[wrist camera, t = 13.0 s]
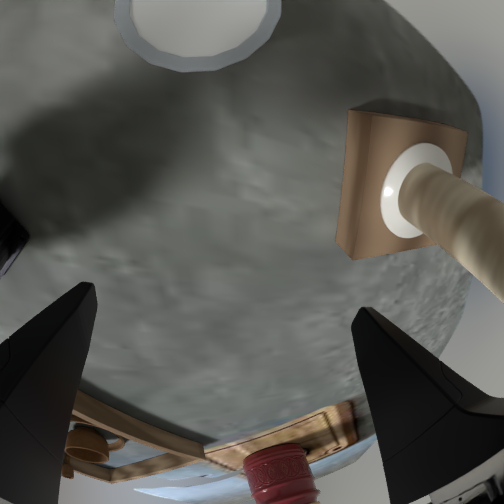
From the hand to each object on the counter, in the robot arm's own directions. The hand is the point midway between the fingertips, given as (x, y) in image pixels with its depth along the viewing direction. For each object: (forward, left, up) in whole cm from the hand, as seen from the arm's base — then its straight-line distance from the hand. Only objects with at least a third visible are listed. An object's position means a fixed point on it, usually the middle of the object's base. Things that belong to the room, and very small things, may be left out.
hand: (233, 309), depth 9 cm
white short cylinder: (+5, +9, -13) cm, 16 cm away
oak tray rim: (-40, -19, -12) cm, 46 cm away
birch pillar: (+13, -9, -9) cm, 19 cm away
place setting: (-41, -16, -13) cm, 46 cm away
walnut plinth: (+13, -9, -12) cm, 20 cm away
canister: (-24, -51, -13) cm, 58 cm away
